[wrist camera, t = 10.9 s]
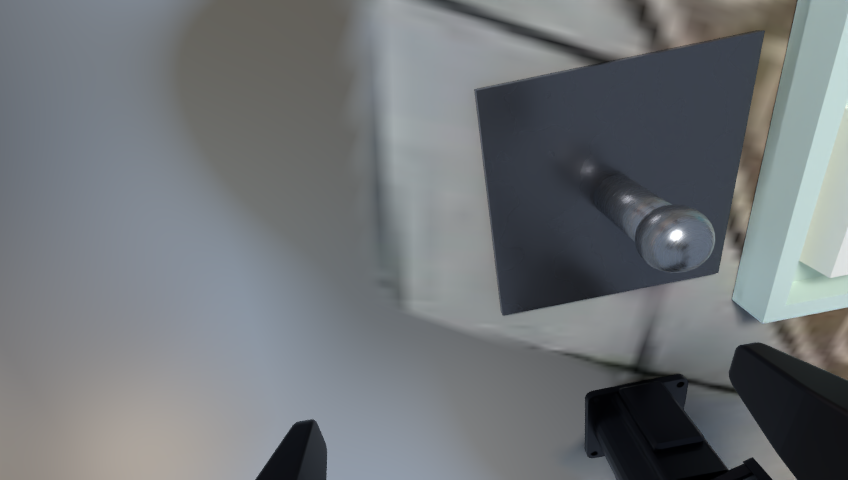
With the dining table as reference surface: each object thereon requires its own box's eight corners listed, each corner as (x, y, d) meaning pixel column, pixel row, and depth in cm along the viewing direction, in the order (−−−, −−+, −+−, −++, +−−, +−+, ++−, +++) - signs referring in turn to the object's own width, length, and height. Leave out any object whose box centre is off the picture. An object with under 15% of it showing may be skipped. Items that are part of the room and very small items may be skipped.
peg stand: (713, 268, 23) (819, 348, 17) (500, 310, 23) (537, 402, 17) (756, 30, 17) (937, 32, 11) (474, 89, 17) (515, 119, 12)
